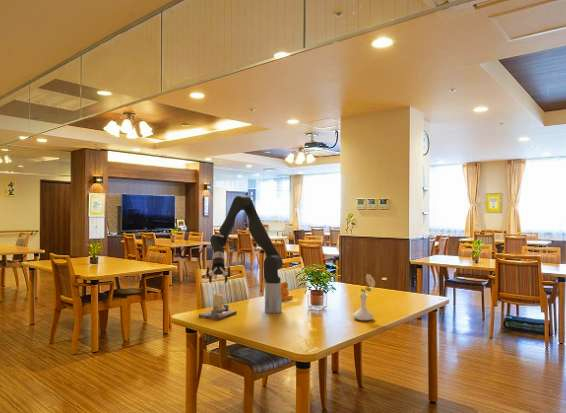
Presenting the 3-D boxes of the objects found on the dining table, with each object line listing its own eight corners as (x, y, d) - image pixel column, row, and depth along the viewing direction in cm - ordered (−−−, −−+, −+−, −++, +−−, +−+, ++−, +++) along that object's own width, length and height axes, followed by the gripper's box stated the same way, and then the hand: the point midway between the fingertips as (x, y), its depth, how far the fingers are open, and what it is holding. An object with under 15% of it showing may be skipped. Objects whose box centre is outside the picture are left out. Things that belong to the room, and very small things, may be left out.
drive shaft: (228, 310, 243) (228, 304, 243) (224, 311, 240) (224, 306, 240) (224, 309, 245) (224, 304, 245) (220, 310, 241) (220, 305, 241)
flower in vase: (361, 323, 223) (361, 276, 224) (348, 318, 234) (349, 273, 234) (380, 320, 230) (380, 274, 230) (367, 315, 240) (367, 272, 240)
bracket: (280, 301, 277) (280, 283, 277) (274, 299, 283) (274, 281, 283) (293, 299, 283) (293, 281, 283) (287, 297, 289) (287, 280, 289)
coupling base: (236, 313, 241) (236, 310, 241) (219, 320, 226) (219, 317, 226) (216, 311, 247) (216, 308, 247) (198, 317, 232) (198, 314, 232)
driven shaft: (218, 314, 232) (218, 309, 232) (216, 316, 228) (216, 311, 228) (213, 314, 232) (213, 309, 232) (211, 316, 228) (211, 310, 228)
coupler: (222, 311, 239) (222, 293, 239) (222, 313, 234) (222, 295, 234) (213, 311, 239) (213, 293, 239) (212, 313, 233) (213, 295, 234)
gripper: (206, 256, 254) (205, 278, 243) (230, 256, 256) (230, 278, 245) (206, 264, 259) (206, 286, 248) (229, 264, 262) (230, 285, 250)
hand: (218, 282), depth 246 cm, fingers open, 8 cm apart
